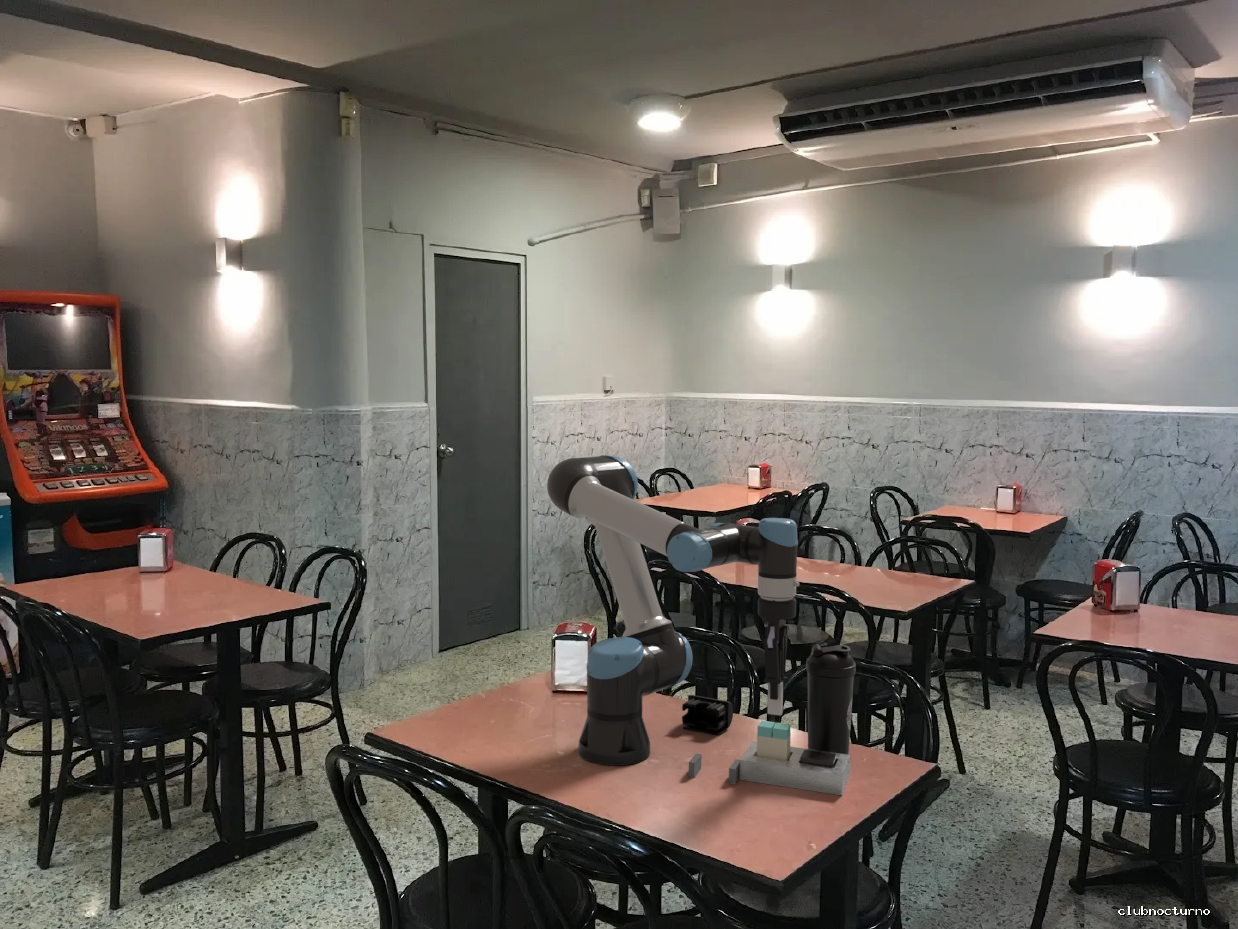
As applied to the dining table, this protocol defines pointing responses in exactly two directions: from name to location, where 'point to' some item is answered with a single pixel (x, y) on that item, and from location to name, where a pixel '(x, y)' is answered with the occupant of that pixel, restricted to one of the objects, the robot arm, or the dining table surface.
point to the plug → (773, 740)
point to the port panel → (798, 770)
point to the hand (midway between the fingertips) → (775, 713)
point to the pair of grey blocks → (696, 767)
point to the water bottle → (830, 698)
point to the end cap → (707, 715)
